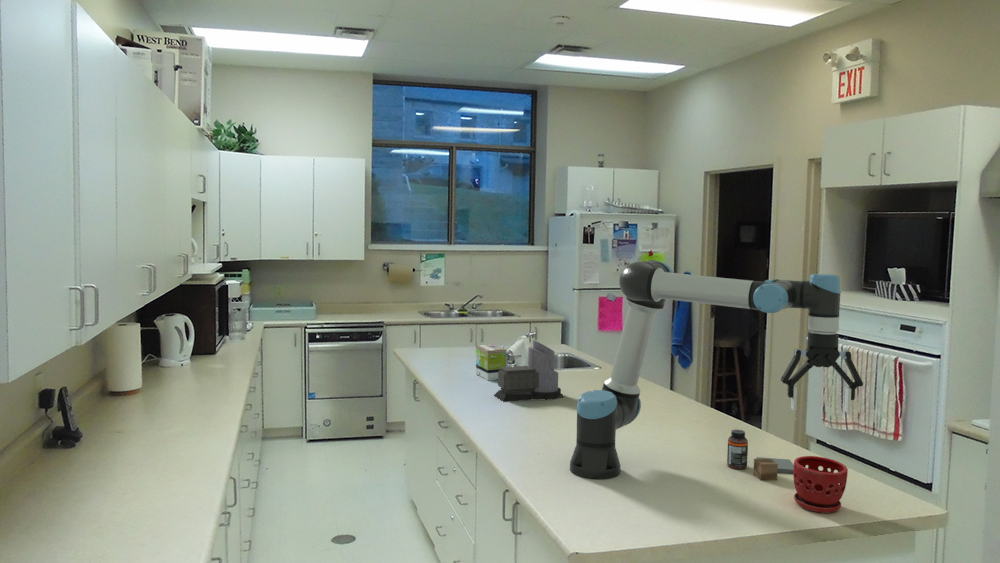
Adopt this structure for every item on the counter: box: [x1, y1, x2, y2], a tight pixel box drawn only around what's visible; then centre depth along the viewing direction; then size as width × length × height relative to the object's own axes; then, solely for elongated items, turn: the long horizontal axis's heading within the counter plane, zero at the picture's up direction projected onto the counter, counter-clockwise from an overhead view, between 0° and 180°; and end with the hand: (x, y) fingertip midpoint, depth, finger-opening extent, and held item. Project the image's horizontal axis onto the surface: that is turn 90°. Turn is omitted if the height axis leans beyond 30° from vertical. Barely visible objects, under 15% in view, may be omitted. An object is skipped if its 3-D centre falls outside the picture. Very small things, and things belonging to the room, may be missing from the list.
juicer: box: [493, 339, 564, 403], centre depth 312 cm, size 30×16×24 cm, turn 111°
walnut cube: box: [753, 458, 778, 481], centre depth 216 cm, size 5×5×5 cm
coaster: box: [756, 456, 794, 475], centre depth 225 cm, size 10×10×1 cm
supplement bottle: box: [726, 429, 749, 470], centre depth 224 cm, size 6×6×11 cm
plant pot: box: [793, 455, 849, 514], centre depth 193 cm, size 13×13×12 cm
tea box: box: [475, 343, 507, 381], centre depth 350 cm, size 15×10×15 cm, turn 25°
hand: (820, 410), depth 194 cm, fingers open, 13 cm apart
